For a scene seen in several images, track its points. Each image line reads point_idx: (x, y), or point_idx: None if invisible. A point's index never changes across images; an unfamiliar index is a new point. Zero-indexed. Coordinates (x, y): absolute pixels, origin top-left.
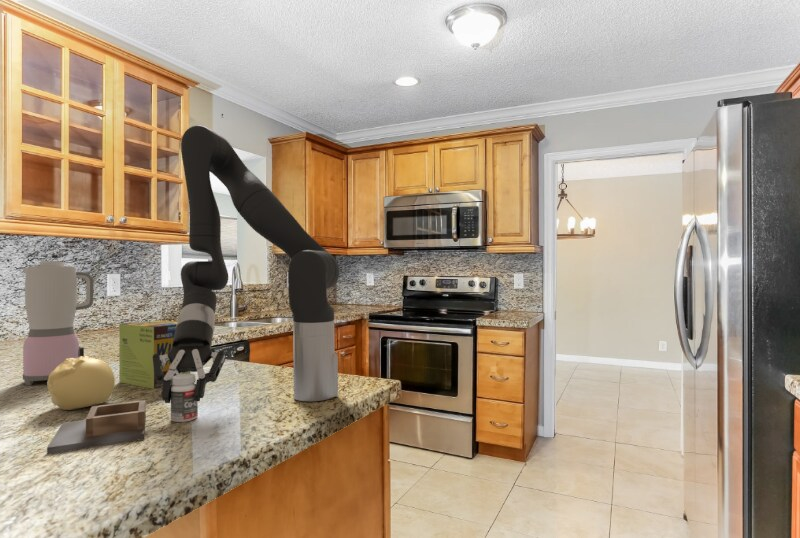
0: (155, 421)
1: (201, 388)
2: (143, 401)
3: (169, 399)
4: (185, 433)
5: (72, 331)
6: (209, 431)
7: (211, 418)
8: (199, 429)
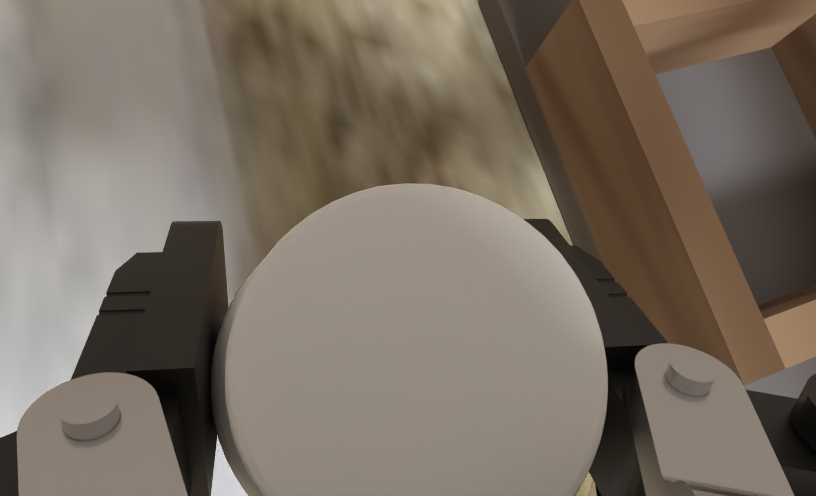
0: None
1: (132, 303)
2: (734, 328)
3: None
4: (252, 37)
5: None
6: (85, 31)
7: None
8: (168, 93)
